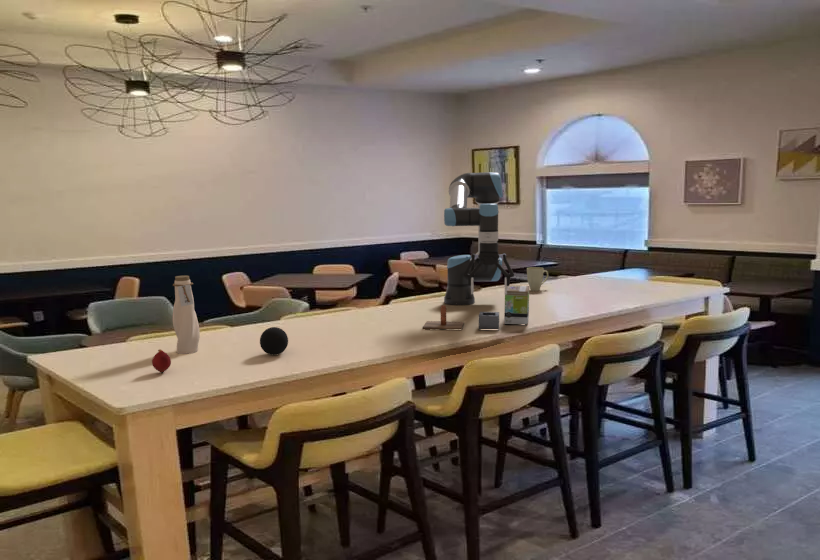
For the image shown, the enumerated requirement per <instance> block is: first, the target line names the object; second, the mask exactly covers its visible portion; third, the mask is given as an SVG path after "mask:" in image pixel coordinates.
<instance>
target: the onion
mask: <svg viewBox="0 0 820 560" xmlns="http://www.w3.org/2000/svg"><path fill="white" fill-rule="evenodd" d="M157 351H158V352H156V354H155V355H154V356H153V357H152V360H151V364H152V367H153V368H154V369H155V371H158V372H159V373H161V372H164V371H165V372H166V371H168V369H169V368H170V367H171V364H172V359H171V356H170V355H169V354H168V353H167V352H165V351H164V350H162V349H160V348H159V349H158V350H157ZM165 372H164V373H165Z"/></svg>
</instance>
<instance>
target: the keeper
mask: <svg viewBox="0 0 820 560" xmlns="http://www.w3.org/2000/svg"><path fill="white" fill-rule="evenodd" d="M464 325H465V321H447V306H446V305H445V304H442V305H440V321H439V320H438V321H437V320H436V321H433V320H426V321H425V322H424V324H423V326H422V327H421V328H422V329H425V331H426V330H427V331H428V330H429V331H431V330H430V329H462V330H463V328H464ZM462 327H463V328H462Z"/></svg>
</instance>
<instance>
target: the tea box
mask: <svg viewBox="0 0 820 560" xmlns="http://www.w3.org/2000/svg"><path fill="white" fill-rule="evenodd" d="M529 312H530V287H529V286H528V285H509V286H507V295H505V294H504V314H503V315H504V318H503V321H504V322H503V323H504V324H503V325H505V324H527V323H528V322H529V317H530V315H529V314H530V313H529ZM527 325H528V324H527Z"/></svg>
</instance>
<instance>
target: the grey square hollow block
mask: <svg viewBox="0 0 820 560" xmlns="http://www.w3.org/2000/svg"><path fill="white" fill-rule="evenodd" d="M479 329H500V312H498V311H479V314H478V330H479Z"/></svg>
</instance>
